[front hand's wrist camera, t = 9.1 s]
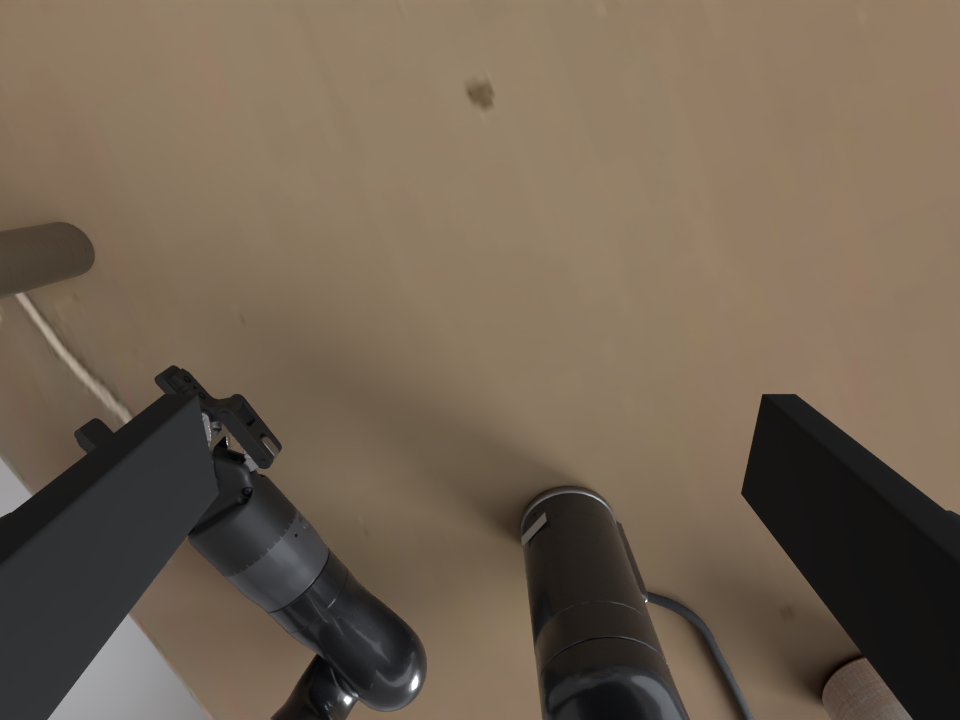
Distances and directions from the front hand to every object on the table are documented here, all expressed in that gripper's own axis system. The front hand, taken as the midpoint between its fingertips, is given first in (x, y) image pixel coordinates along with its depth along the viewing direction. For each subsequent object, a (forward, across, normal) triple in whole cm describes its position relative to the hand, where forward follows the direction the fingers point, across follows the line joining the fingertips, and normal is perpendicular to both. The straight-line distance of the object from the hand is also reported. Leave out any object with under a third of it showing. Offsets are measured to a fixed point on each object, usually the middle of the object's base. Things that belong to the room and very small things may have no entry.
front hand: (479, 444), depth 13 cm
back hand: (+26, -28, -11) cm, 39 cm away
